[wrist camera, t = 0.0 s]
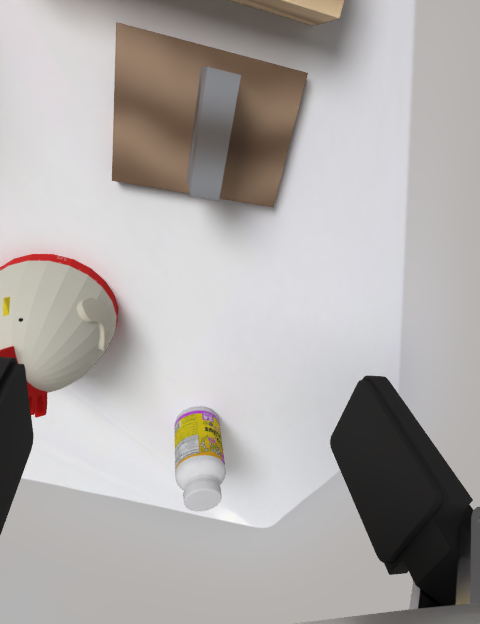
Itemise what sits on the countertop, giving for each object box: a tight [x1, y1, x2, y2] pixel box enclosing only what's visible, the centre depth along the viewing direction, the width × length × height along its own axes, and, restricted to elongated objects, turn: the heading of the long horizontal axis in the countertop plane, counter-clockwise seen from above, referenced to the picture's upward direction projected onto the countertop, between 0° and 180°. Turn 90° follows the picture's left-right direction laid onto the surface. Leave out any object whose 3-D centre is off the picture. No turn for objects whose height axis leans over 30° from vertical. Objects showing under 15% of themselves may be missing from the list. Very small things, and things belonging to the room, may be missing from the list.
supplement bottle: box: [175, 407, 226, 511], centre depth 51 cm, size 7×7×13 cm
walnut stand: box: [112, 22, 308, 207], centre depth 31 cm, size 12×16×8 cm
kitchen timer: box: [0, 254, 118, 417], centre depth 37 cm, size 14×14×15 cm
